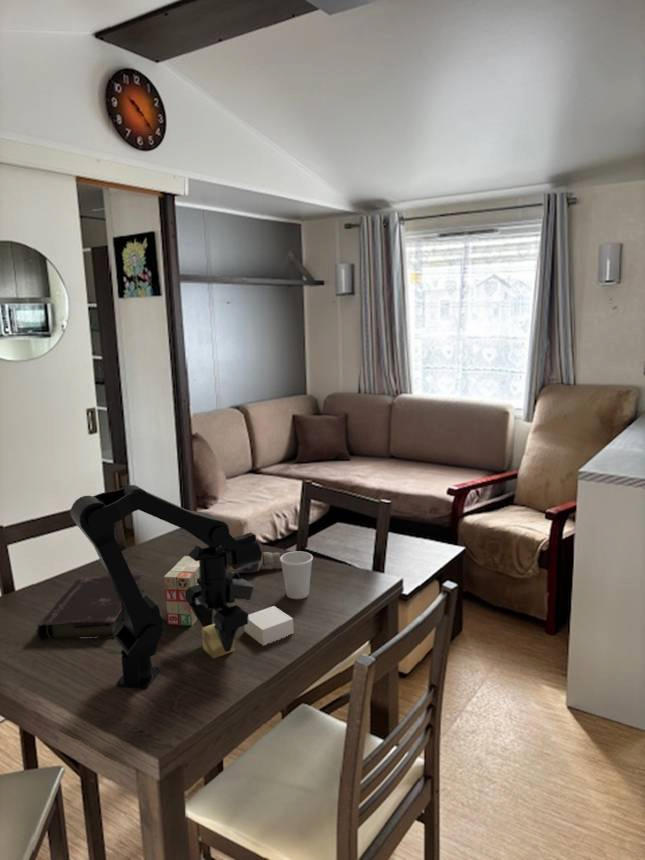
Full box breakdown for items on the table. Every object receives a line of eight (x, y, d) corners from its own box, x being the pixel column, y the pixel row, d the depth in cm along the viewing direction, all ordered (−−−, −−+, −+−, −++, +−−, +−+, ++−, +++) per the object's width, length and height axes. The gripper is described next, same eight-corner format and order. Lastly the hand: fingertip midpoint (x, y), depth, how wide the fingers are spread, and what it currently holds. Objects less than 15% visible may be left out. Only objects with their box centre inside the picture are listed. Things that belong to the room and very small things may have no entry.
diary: (37, 644, 143) (34, 623, 142) (77, 594, 168) (75, 576, 167) (119, 640, 144) (117, 619, 143) (148, 591, 168) (146, 573, 167)
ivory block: (293, 635, 144) (293, 618, 143) (263, 646, 139) (262, 629, 138) (274, 621, 150) (273, 605, 149) (244, 632, 145) (244, 616, 144)
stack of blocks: (200, 585, 170) (197, 542, 167) (223, 587, 169) (220, 543, 166) (167, 625, 149) (163, 575, 147) (192, 626, 148) (189, 577, 146)
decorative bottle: (195, 583, 171) (193, 560, 170) (194, 572, 179) (192, 550, 178) (289, 572, 177) (288, 549, 176) (285, 562, 184) (284, 540, 183)
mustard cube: (234, 651, 137) (233, 629, 136) (213, 658, 134) (212, 637, 133) (223, 641, 141) (222, 620, 140) (203, 649, 138) (201, 627, 137)
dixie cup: (317, 588, 166) (316, 552, 164) (308, 603, 158) (307, 565, 156) (287, 585, 168) (286, 549, 166) (276, 599, 160) (275, 562, 158)
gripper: (269, 578, 131) (272, 648, 134) (227, 552, 146) (231, 615, 149) (220, 593, 125) (224, 666, 128) (182, 564, 140) (186, 629, 143)
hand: (217, 642), depth 137 cm, fingers open, 9 cm apart
